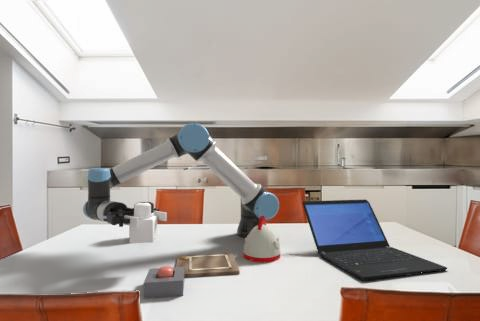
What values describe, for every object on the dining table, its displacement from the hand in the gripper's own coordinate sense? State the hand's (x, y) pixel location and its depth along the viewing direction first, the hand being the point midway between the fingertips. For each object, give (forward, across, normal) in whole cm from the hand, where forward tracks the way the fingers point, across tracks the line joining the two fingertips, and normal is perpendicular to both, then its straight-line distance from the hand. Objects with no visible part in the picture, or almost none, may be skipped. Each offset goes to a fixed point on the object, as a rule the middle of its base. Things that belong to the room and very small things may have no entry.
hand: (152, 219), depth 88 cm
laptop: (+50, -58, -18) cm, 78 cm away
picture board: (+8, -16, -18) cm, 25 cm away
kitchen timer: (+18, -36, -18) cm, 44 cm away
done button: (+10, +4, -15) cm, 19 cm away
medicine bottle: (-4, 0, -7) cm, 8 cm away
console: (+10, +4, -18) cm, 21 cm away
